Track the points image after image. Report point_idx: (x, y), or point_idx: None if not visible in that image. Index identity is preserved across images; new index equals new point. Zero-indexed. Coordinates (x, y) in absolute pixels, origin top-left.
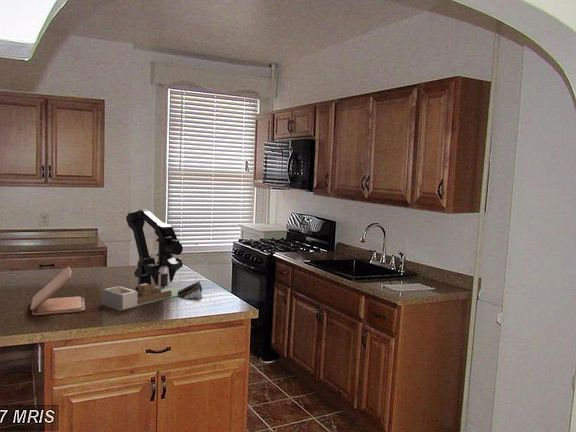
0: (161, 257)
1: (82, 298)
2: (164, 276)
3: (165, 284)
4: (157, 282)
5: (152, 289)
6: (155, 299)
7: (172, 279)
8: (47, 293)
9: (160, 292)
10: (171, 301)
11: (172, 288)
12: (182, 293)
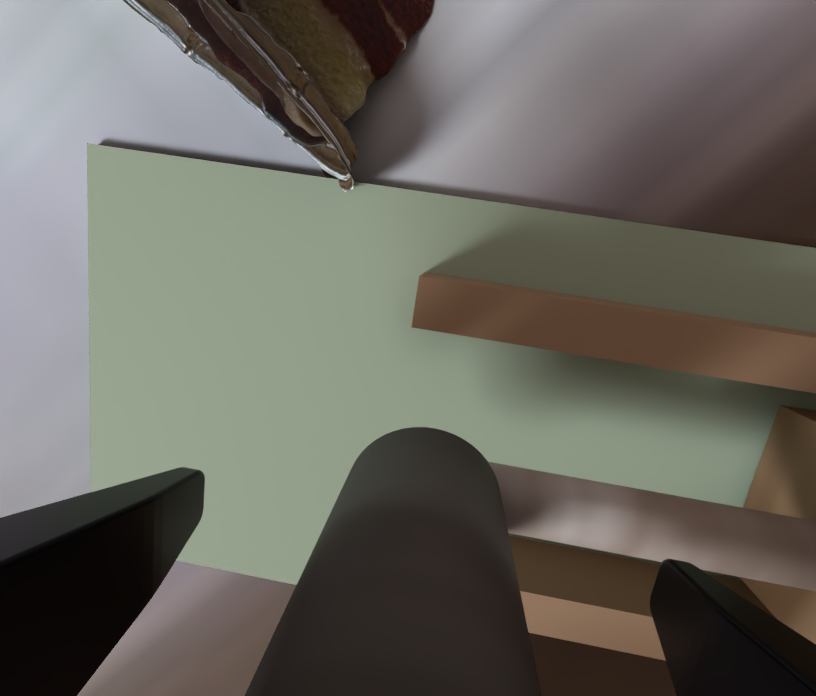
0: None
1: None
2: (506, 682)
3: (455, 456)
4: (746, 606)
5: (791, 528)
6: (782, 324)
7: (135, 487)
8: None
9: None
10: (697, 32)
11: None
12: (316, 73)
